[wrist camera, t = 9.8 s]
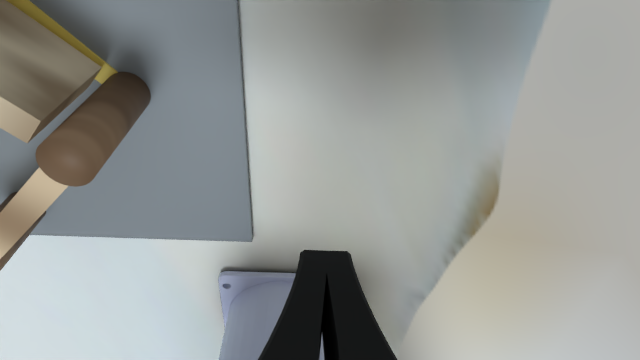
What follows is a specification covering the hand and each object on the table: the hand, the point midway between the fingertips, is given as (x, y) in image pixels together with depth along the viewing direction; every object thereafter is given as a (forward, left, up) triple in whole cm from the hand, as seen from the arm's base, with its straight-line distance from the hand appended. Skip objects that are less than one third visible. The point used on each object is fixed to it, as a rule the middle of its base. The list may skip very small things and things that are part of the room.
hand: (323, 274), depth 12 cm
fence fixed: (-3, +13, -10) cm, 16 cm away
